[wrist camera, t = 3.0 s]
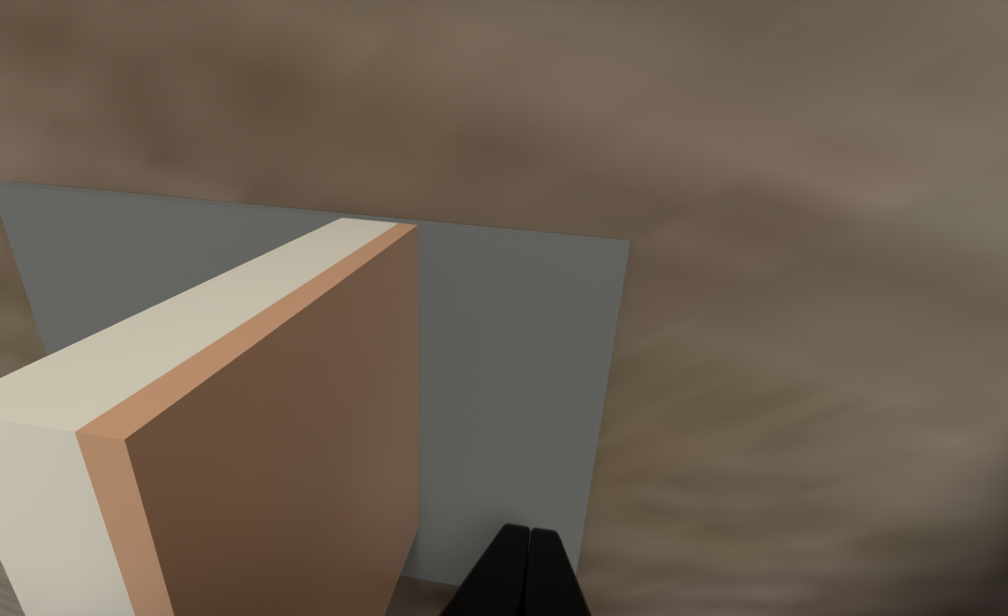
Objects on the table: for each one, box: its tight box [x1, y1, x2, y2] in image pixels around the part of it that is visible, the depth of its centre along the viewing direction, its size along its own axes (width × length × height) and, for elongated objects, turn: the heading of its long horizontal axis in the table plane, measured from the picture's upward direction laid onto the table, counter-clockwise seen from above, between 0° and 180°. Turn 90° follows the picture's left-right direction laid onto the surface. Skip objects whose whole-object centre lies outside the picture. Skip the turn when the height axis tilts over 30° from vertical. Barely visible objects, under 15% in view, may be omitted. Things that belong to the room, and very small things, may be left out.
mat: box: [0, 182, 630, 586], centre depth 12 cm, size 14×10×1 cm
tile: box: [0, 218, 419, 616], centre depth 8 cm, size 2×8×7 cm, turn 176°
